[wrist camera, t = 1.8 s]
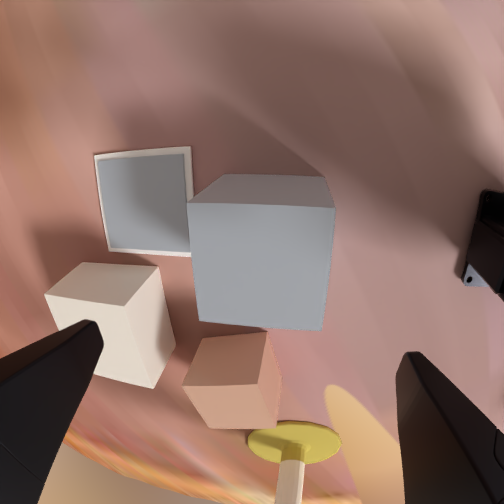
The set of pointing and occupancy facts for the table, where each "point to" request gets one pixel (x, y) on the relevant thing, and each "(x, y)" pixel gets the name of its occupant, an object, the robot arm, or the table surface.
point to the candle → (293, 453)
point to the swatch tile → (146, 200)
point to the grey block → (262, 250)
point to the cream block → (119, 317)
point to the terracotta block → (235, 382)
